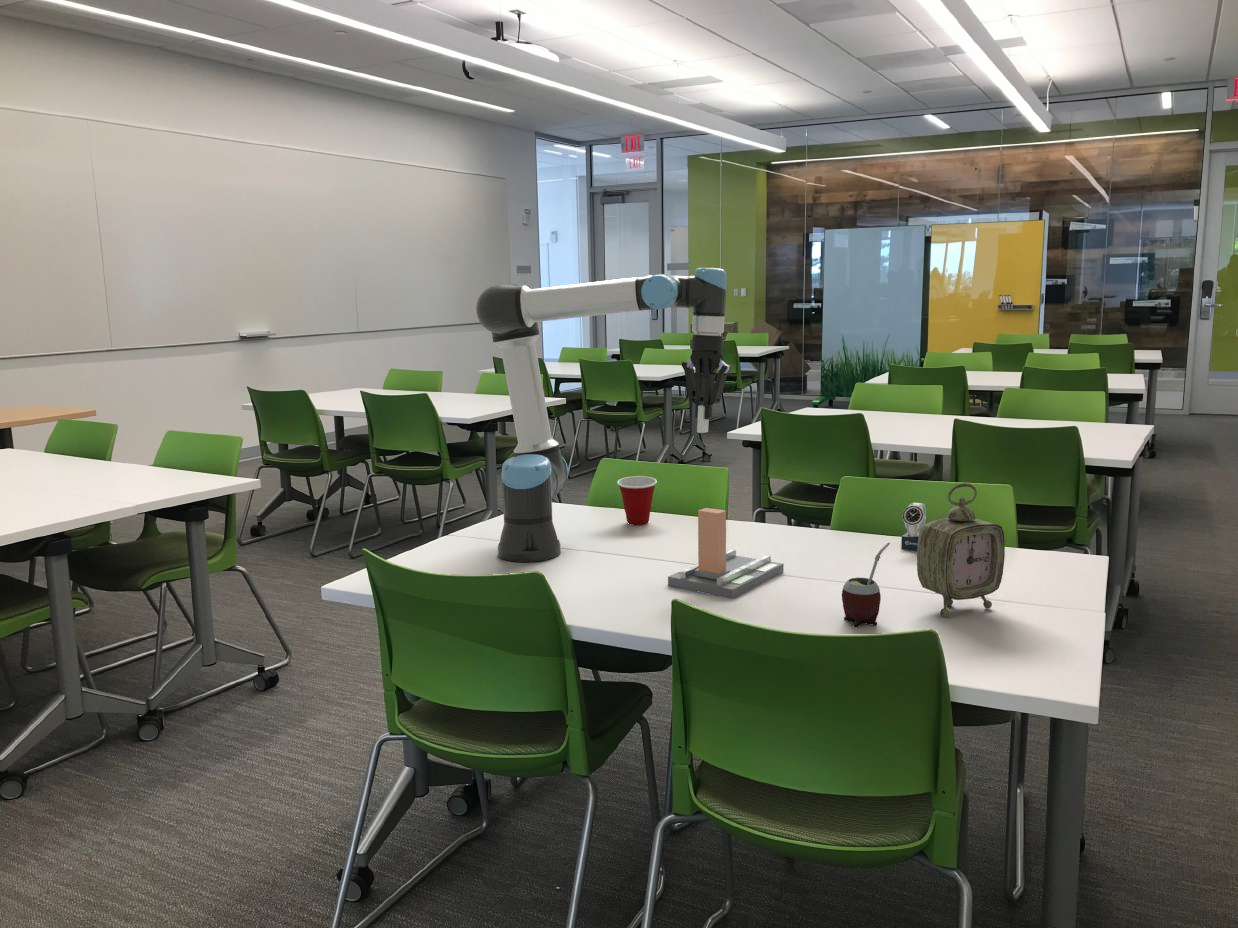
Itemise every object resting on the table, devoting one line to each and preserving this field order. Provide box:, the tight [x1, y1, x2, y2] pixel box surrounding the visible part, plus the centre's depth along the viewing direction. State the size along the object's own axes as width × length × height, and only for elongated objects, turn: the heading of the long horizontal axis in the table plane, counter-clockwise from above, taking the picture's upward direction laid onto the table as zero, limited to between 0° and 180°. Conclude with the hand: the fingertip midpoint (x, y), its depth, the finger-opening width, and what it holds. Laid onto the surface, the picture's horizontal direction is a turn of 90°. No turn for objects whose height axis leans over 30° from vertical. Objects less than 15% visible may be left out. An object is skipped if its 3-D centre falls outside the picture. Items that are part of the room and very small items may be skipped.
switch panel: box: [667, 548, 785, 600], centre depth 207 cm, size 16×22×4 cm
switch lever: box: [694, 507, 730, 580], centre depth 201 cm, size 6×4×14 cm, turn 53°
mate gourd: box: [841, 542, 891, 628], centre depth 178 cm, size 8×8×15 cm
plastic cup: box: [617, 475, 658, 526], centre depth 257 cm, size 11×11×12 cm
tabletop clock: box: [916, 482, 1006, 618], centre depth 183 cm, size 14×9×25 cm, turn 114°
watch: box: [900, 502, 927, 552], centre depth 227 cm, size 6×8×11 cm
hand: (702, 432), depth 230 cm, fingers closed
